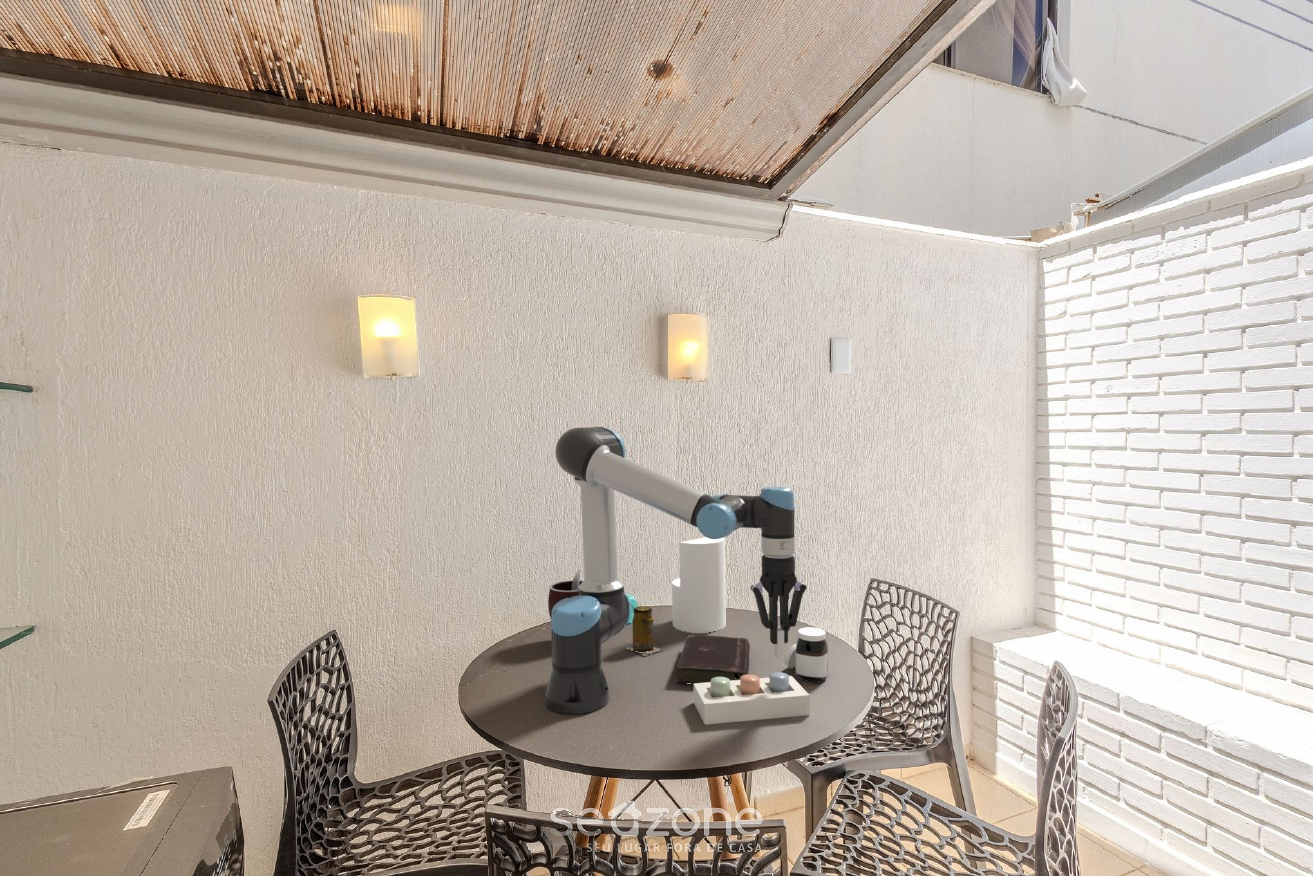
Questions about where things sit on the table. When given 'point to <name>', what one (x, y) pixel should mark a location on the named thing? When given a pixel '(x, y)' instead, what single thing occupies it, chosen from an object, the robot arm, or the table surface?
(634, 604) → the decorative dice
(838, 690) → the table surface
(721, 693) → the sage button
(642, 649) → the condiment
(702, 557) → the cylinder
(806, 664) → the spread jar
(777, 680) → the slate button
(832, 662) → the table surface
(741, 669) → the diary
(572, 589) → the mate gourd
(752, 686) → the terracotta button
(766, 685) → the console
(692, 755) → the table surface
